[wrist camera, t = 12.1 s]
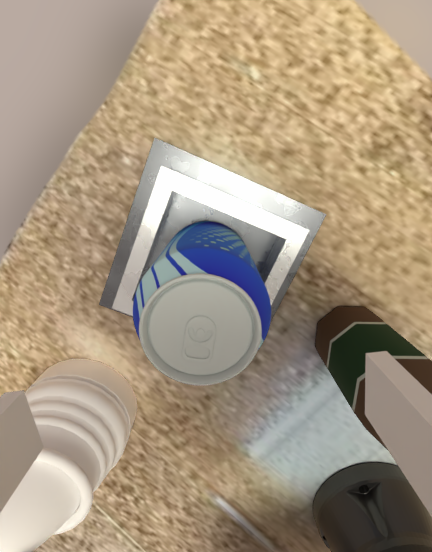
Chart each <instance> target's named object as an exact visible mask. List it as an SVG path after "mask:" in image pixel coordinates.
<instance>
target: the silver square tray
mask: <svg viewBox="0 0 432 552" xmlns="http://www.w3.org/2000/svg"><path fill="white" fill-rule="evenodd" d="M325 216H326V214H324V213H322V212H320V211H318V210H315V209H313V208H311V207H309V206H306V205H304V204H302V203H300V202H297V201H295V200H293V199H291V198H288V197H286V196H284V195H282V194H280V193H277V192H275V191H273V190H271V189H268V188H266V187H264V186H262V185H259V184H257V183H255V182H253V181H250V180H248V179H246V178H244V177H242V176H239V175H237V174H235V173H233V172H230V171H228V170H226V169H224V168H221V167H219V166H217V165H215V164H213V163H210V162H208V161H206V160H204V159H201V158H199V157H197V156H195V155H192V154H190V153H188V152H186V151H183V150H181V149H179V148H177V147H175V146H172V145H170V144H168V143H166V142H163V141H161V140H159V139H157V138H154V141H153V144H152V147H151V150H150V153H149V156H148V159H147V162H146V165H145V168H144V171H143V174H142V177H141V180H140V183H139V186H138V189H137V192H136V195H135V198H134V201H133V204H132V207H131V210H130V213H129V216H128V219H127V222H126V225H125V228H124V231H123V234H122V237H121V240H120V243H119V246H118V249H117V252H116V255H115V258H114V261H113V264H112V267H111V270H110V273H109V276H108V279H107V282H106V285H105V288H104V291H103V294H102V297H101V300H100V303H99V305H101V306H104V307H107V308H109V309H112V310H115V311H117V312H120V313H123V314H125V315H128V316H131V317H133V302H134V297H135V293H136V290H137V288H138V285H139V283H140V281H141V279H142V278H143V276H144V275H145V274H146V272H147V271H148V270H149V268H150V267H151V266H152V264H153V263H154V262H155V261H156V259H157V258H158V257H159V255H160V254H161V253H162V251H163V250H164V249H165V248H166V246H167V245H168V244H169V242H170V241H171V240H172V239H173V237H174V236H175V235H176V234H177V233H178V232H179V231H180V230H182V229H183V228H184V227H186V226H188V225H191V224H193V223H197V222H203V221H211V222H217V223H221V224H223V225H226V226H228V227H229V228H231V229H232V230H234V231H235V232H236V233H237V234H238V235H239V236H240V237H241V238H242V240H243V241H244V243H245V245H246V247H247V249H248V251H249V253H250V255H251V257H252V259H253V261H254V263H255V265H256V268H257V270H258V272H259V274H260V276H261V278H262V280H263V282H264V284H265V286H266V288H267V291H268V294H269V298H270V304H271V320H272V318H273V316H274V314H275V313H276V311H277V309H278V307H279V305H280V303H281V301H282V299H283V297H284V295H285V293H286V291H287V289H288V287H289V286H290V284H291V282H292V280H293V278H294V276H295V274H296V272H297V270H298V268H299V266H300V264H301V262H302V260H303V259H304V257H305V255H306V253H307V251H308V249H309V247H310V245H311V243H312V241H313V239H314V237H315V235H316V233H317V232H318V230H319V228H320V226H321V224H322V222H323V220H324V218H325ZM270 322H271V321H270Z"/></svg>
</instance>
